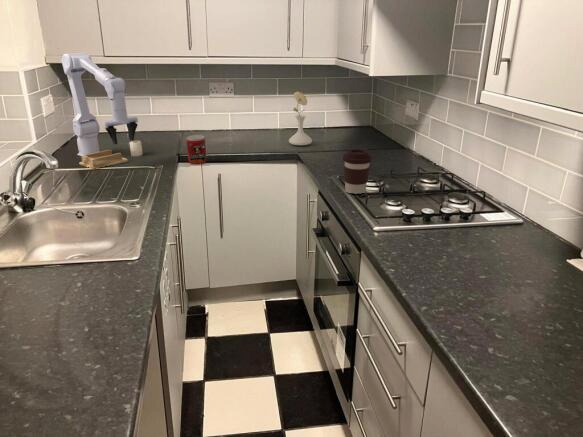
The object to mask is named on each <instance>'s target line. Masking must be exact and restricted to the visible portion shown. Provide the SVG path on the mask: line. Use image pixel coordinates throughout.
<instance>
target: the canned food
mask: <svg viewBox="0 0 583 437" xmlns="http://www.w3.org/2000/svg"><path fill="white" fill-rule="evenodd" d="M205 137H206V136H205V135H202V134H194V135H193V134H192V135H188V136H187V137H186V146H187V148H186V150H187V157H188V163H189V164H191V165H193V166H194V165H196V166H198V165H203V164H205V163H207V150H206V149H207V148H206V138H205Z"/></svg>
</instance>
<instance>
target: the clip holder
mask: <svg viewBox="0 0 583 437" xmlns="http://www.w3.org/2000/svg"><path fill="white" fill-rule="evenodd" d="M80 157H81V161H80V162H79V165H80V166H83V167H86V168H88V167H89V168H88V169H91V168H92V169H91V170H94V171H95V170H97V169H96V168H99V169H101V168H100V167H103V168H105V166H107V167H110V165H111V166H114V165H118V164H122V163H126V162H129V159H128V158H125V157H123V156H122V153H121V152H117V153H113V152H112V149H105V150H101V151H100V150H99V152H96V153H91V154H87V155H82V156H80Z"/></svg>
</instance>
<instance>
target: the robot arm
mask: <svg viewBox="0 0 583 437" xmlns="http://www.w3.org/2000/svg"><path fill="white" fill-rule="evenodd" d="M61 64H62V68H63V72H64V74H65V75H66V76H67V80H68V84H69V88H70V92H71V95H72V101H73V104H74V107H75V111H76V115H75V117H74V118H73V119H72V129H73V130H72V131H73V134H75V136H76V137H77V139H76V144H77V148H78V153H77V156H79V157H81V156H82V155H87V154H91V153H96V152H100V147H99V142H98V135H99V133H100V129H101V128H100V124H99V122H98V119H97V116H96V115H94V114H92V113H91V112H90V108H89V105H88V101H87V98H86V97H87V96H86V92H85V89H84V85H83V80H82V75H83V74H84V73H86V71H88V73H90V74H93V76H94V79H95V81H97V82H98V83H99V84H101V85H102V86H103V87H104V90H105V92H106V94H107V98H108V99H109V103H110V109H111V115H112V119H111V120H109V121H104V122H102V127H103V128H104V129H105V130H106V133H108V134H109V137H110V139H111V141H112V143H113V145H118V138H117V128H116V126H117V127H118V126H121V125H122V126H123V125H126V128H127V131H128V136H129V137H128V138H129V140H130V142H131V141H135V134H136V130H137V129H138V128H137V127H138V123H139V121H138V120H139V119H138V117H137V116H135V117H134V116H133V117H128V113H127V105H126V104H127V103H126V95H125V92H126V91H127V83H126V82H125V79H123V78H122V77H116V76H115V75H114V74H112V73H111V72H110V71H108V69H107V68H101V67H99V66H98V65H97V64H96V63H95V62H94V61H93V60H92V57H91V55H90V54H89V53H87V52H85V51H84V52H79V53H78V52H75V53H64V54H63V55H62V58H61Z"/></svg>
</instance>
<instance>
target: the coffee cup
mask: <svg viewBox="0 0 583 437" xmlns="http://www.w3.org/2000/svg"><path fill="white" fill-rule="evenodd" d="M372 160H373V157H372V154H369V153H368V151H367V150H365V149H360V148H359V149H358V148H354V149H349V150H348V151H347V153H344V154H343V155H342V161H343V162H344V165H343V169H344V170H343V172H344V173H343V174H344V175H343V176H344V184H345V185H344V186H345V188H344V190H345V193H346V192H348V193H364V194H365V193H366V191H367V184H368V180H369V176H370V175H369V174H370V173H369V172H370V163H371V162H372ZM348 193H347V194H348Z"/></svg>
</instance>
